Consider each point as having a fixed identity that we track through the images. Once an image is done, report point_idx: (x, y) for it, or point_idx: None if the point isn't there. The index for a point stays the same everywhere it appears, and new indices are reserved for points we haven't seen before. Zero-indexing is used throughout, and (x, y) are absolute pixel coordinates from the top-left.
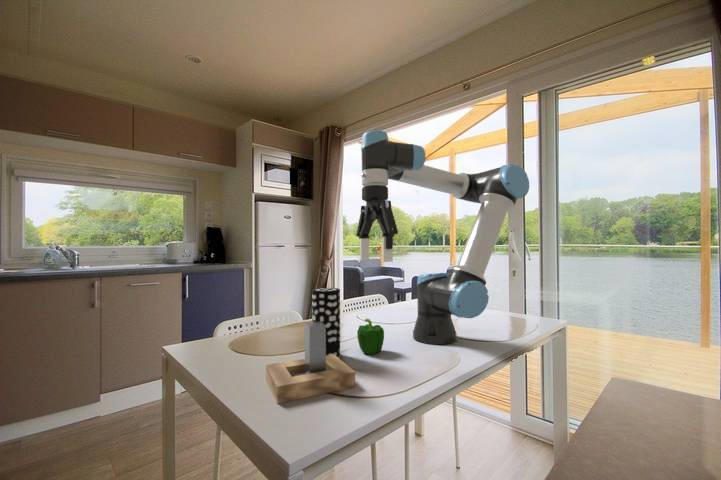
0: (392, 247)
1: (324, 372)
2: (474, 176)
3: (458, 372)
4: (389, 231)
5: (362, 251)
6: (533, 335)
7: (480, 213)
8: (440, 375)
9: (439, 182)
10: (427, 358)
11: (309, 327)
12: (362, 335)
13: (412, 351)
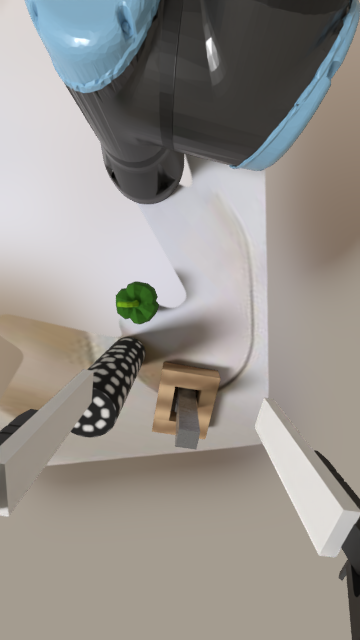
0: (324, 458)
1: (203, 400)
2: None
3: (262, 261)
4: None
5: (70, 426)
6: None
7: None
8: (253, 286)
9: None
10: (207, 254)
11: (195, 448)
12: (144, 322)
13: (174, 250)
